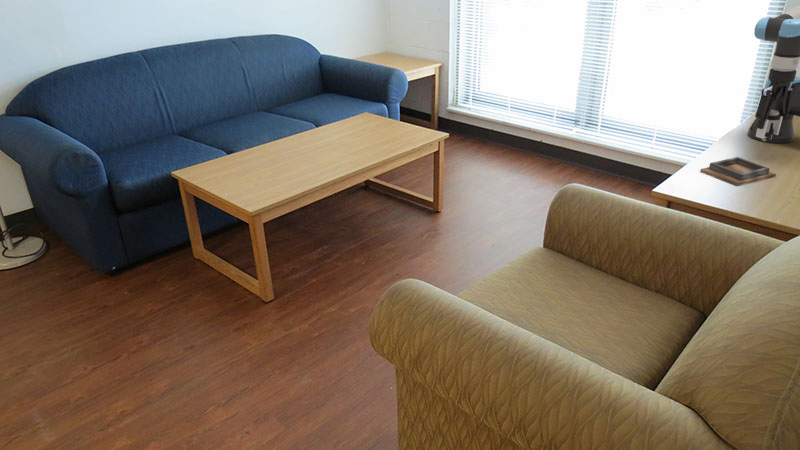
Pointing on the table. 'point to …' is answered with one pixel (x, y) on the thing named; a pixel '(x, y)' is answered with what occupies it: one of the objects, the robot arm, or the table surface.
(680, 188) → the table surface
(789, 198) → the table surface
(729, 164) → the dock
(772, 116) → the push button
